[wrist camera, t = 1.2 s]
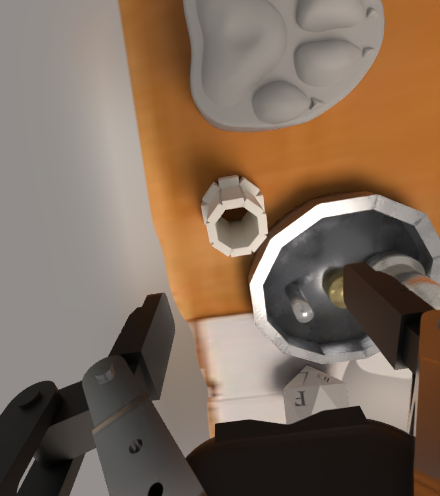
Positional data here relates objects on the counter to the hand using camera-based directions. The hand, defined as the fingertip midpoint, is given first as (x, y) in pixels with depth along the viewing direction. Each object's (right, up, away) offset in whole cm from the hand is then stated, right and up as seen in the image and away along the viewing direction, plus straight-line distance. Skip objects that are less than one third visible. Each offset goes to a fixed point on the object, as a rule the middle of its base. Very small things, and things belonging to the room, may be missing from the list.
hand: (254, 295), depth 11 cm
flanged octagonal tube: (0, +7, +16) cm, 18 cm away
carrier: (+13, -2, +20) cm, 24 cm away
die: (+11, -18, +27) cm, 34 cm away
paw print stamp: (+3, +19, +12) cm, 22 cm away
